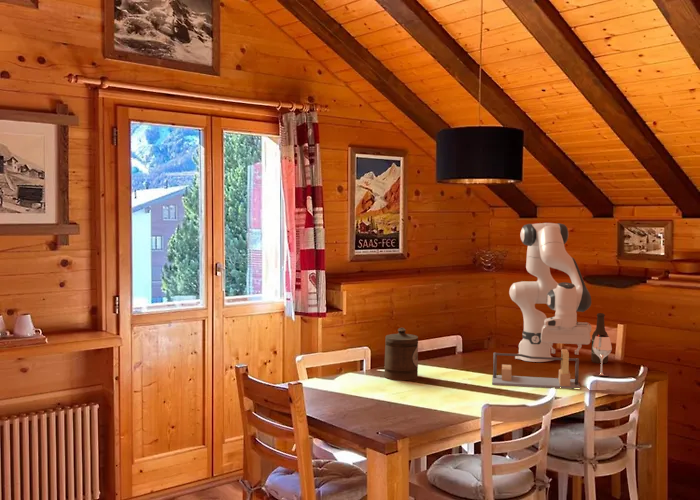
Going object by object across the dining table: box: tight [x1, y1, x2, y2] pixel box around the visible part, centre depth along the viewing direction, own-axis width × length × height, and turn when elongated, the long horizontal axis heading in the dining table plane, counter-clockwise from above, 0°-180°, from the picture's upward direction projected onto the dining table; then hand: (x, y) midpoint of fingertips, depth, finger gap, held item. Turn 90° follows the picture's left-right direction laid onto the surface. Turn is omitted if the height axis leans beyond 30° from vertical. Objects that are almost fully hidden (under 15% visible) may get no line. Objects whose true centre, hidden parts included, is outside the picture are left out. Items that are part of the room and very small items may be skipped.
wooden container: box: [384, 327, 419, 381], centre depth 317 cm, size 15×15×22 cm
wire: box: [496, 352, 576, 362], centre depth 306 cm, size 5×34×1 cm, turn 78°
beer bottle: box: [590, 312, 609, 364], centre depth 348 cm, size 8×8×24 cm
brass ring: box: [560, 348, 570, 374], centre depth 301 cm, size 8×2×9 cm, turn 168°
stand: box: [491, 352, 581, 389], centre depth 306 cm, size 14×36×12 cm, turn 78°
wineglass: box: [591, 335, 613, 375], centre depth 320 cm, size 8×8×18 cm
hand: (564, 353), depth 301 cm, fingers open, 8 cm apart
